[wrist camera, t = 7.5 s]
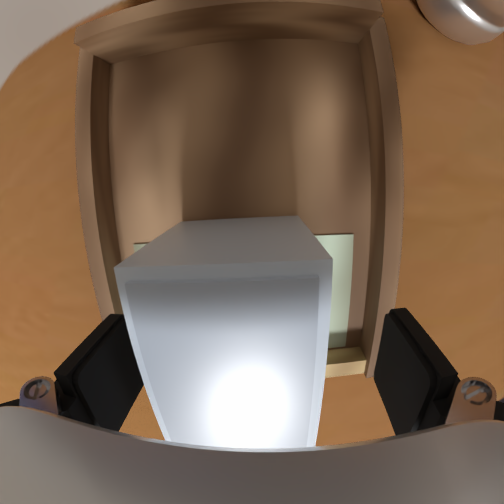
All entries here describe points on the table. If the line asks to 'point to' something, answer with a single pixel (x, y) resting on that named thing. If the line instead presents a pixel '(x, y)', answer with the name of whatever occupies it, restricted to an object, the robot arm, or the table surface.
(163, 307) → the grey block
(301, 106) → the bay
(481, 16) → the plastic bottle
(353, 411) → the table surface
